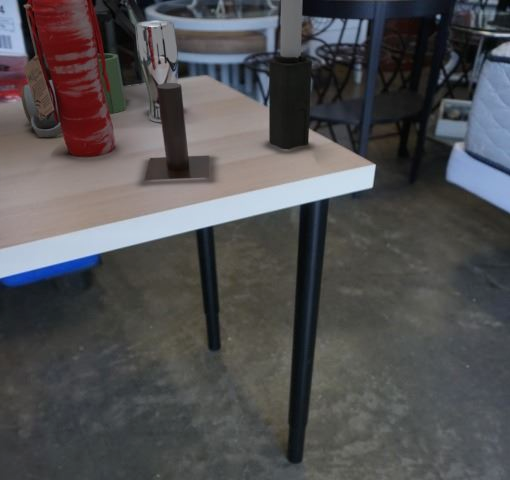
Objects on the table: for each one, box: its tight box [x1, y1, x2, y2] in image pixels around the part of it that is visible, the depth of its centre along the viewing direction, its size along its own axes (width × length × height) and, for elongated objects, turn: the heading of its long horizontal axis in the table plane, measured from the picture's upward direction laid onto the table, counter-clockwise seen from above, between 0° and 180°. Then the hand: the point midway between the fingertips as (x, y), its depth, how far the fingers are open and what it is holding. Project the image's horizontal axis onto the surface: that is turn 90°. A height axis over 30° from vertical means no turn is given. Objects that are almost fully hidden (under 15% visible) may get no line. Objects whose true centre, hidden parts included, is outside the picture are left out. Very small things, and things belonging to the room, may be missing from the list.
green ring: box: [98, 52, 127, 114], centre depth 103 cm, size 7×7×9 cm
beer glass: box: [134, 19, 179, 123], centre depth 96 cm, size 7×7×15 cm
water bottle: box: [23, 0, 116, 158], centre depth 76 cm, size 12×8×25 cm, turn 98°
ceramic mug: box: [20, 79, 63, 138], centre depth 94 cm, size 11×8×8 cm
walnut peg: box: [144, 83, 211, 181], centre depth 74 cm, size 9×9×12 cm
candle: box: [268, 0, 313, 150], centre depth 77 cm, size 5×5×25 cm
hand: (103, 77), depth 103 cm, fingers open, 13 cm apart
